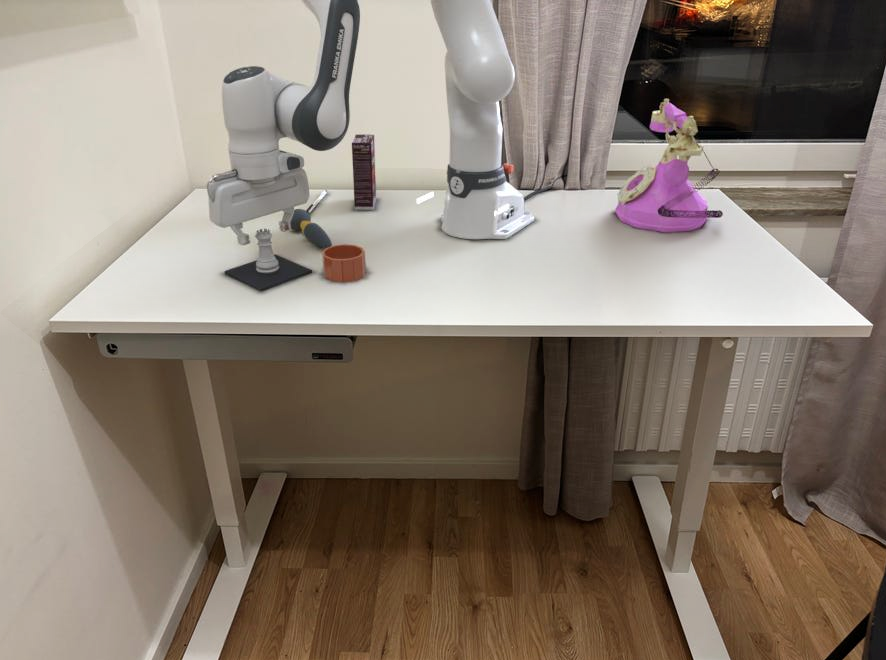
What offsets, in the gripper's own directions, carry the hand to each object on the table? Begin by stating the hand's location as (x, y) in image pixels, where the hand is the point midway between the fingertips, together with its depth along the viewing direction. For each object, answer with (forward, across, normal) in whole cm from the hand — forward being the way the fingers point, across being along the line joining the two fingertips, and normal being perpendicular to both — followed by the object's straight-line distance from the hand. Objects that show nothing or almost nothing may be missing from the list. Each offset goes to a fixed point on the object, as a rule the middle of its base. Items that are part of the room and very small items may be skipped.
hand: (265, 237), depth 141 cm
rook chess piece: (+7, 0, 0) cm, 7 cm away
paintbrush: (+8, +18, +9) cm, 21 cm away
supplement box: (+8, +41, +17) cm, 45 cm away
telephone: (+8, +78, -44) cm, 90 cm away
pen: (+8, +33, +26) cm, 43 cm away
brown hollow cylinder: (+8, +10, -11) cm, 16 cm away
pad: (+7, 0, 0) cm, 7 cm away
